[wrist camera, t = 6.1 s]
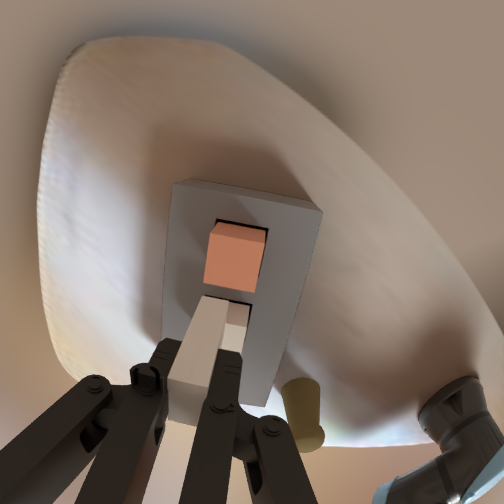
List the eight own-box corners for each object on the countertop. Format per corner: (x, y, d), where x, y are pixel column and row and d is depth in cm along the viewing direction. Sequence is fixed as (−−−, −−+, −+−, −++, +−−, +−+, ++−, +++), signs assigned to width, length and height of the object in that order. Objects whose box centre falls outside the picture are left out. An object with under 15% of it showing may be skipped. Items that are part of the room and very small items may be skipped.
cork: (308, 406, 42) (314, 460, 32) (275, 398, 41) (275, 454, 31) (327, 383, 40) (338, 438, 30) (291, 374, 40) (295, 432, 29)
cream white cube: (249, 305, 29) (246, 327, 26) (242, 339, 31) (239, 362, 27) (207, 297, 29) (198, 317, 26) (202, 331, 31) (195, 354, 27)
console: (313, 201, 32) (322, 212, 26) (265, 377, 40) (264, 407, 34) (189, 178, 31) (173, 183, 26) (172, 359, 40) (161, 386, 34)
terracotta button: (265, 230, 27) (264, 243, 23) (256, 274, 28) (254, 292, 24) (218, 221, 27) (210, 233, 23) (211, 265, 28) (203, 282, 24)
